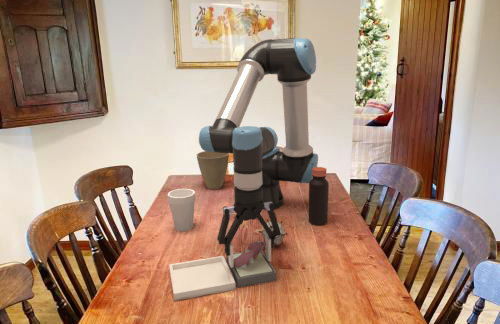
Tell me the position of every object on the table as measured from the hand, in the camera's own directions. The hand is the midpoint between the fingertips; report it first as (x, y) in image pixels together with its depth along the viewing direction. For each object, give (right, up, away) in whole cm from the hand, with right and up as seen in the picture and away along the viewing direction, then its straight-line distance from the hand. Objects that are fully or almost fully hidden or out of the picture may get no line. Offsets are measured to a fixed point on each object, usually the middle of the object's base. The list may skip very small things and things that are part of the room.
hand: (250, 261), depth 105 cm
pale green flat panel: (0, -1, 0) cm, 1 cm away
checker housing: (0, -3, +1) cm, 3 cm away
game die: (+8, +1, +16) cm, 18 cm away
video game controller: (0, 0, +1) cm, 1 cm away
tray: (-13, -4, -3) cm, 14 cm away
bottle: (+25, +6, +32) cm, 41 cm away
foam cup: (-24, +4, +30) cm, 38 cm away
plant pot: (-17, +16, +73) cm, 76 cm away
